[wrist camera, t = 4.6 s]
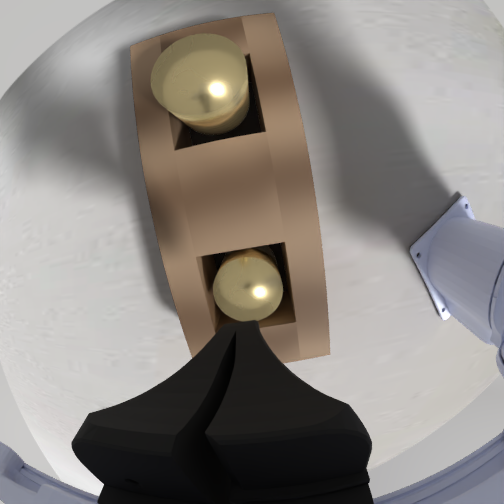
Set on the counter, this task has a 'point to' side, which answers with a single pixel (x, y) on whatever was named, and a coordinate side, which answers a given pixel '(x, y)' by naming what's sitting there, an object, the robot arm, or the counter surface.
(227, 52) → the peg
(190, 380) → the robot arm
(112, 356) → the counter surface
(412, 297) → the counter surface
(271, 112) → the block
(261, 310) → the peg
